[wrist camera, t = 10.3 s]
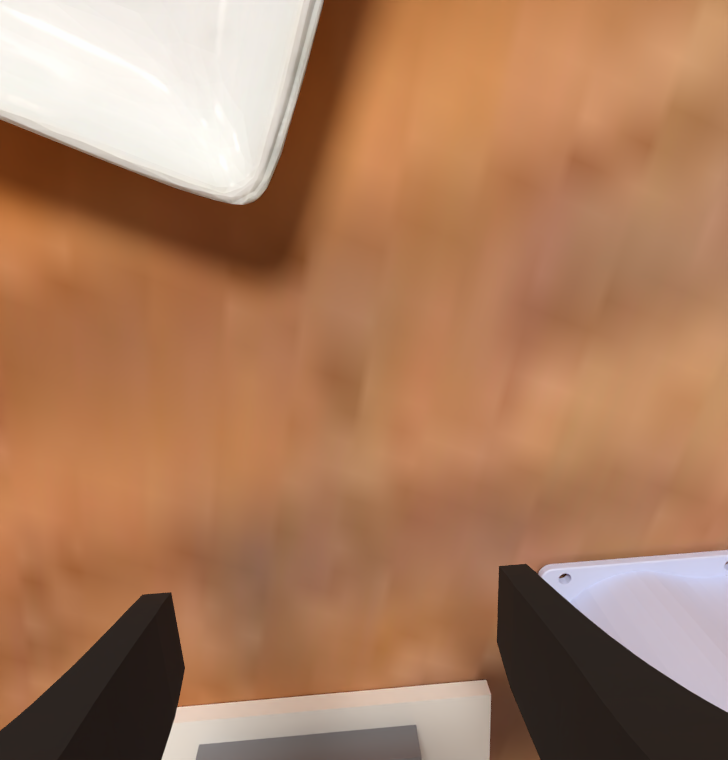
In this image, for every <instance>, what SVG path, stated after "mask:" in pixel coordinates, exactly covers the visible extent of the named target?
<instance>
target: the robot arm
mask: <svg viewBox="0 0 728 760" xmlns="http://www.w3.org/2000/svg"><path fill="white" fill-rule="evenodd" d="M726 562H728V550H722V551H709V552H697V553H684V554H672V555H660V556H647V557H635V558H622V559H610V560H597V561H585V562H572V563H560V564H549V565H546V566H544V567H542V568H541V570H540V571H539V573H538V574H537V573H536V572H535V571H534V570H533V569H531V568H530V567H529V566H528V565H527V564H520V565H508V566H499V589H498V624H497V643H498V647H499V650H500V654H501V657H502V661H503V664H504V668H505V671H506V674H507V678H508V681H509V684H510V688H511V690H512V692H513V695H514V697H515V700H516V702H517V705H518V707H519V709H520V712H521V714H522V717H523V719H524V721H525V724H526V726H527V729H528V731H529V733H530V736H531V738H532V740H533V743H534V745H535V747H536V750H537V752H538V754H539V757H540V759H541V760H728V563H727V564H725V563H726ZM565 573H566V574H567V575H566V576H565V577H563V578H559V577H560V576H561V575H562V574H565ZM184 670H185V666H184V661H183V655H182V650H181V644H180V639H179V633H178V628H177V622H176V617H175V611H174V606H173V600H172V595H171V593H158V594H146V595H142V596H141V597H140V598H139V599H138V600H137V601H136V602H135V603H134V604H133V605H132V606H131V607H130V608H129V609H128V610H127V611H126V612H125V613H124V614H123V615H122V616H121V617H120V619H119V620H118V621H117V622H116V623H115V624H114V625H113V626H112V627H111V628H110V629H109V630H108V631H107V632H106V633H105V634H104V635H103V636H102V637H101V638H100V639H99V640H98V641H97V642H96V643H95V644H94V645H93V646H92V647H91V648H90V649H89V650H88V651H87V652H86V653H85V654H84V655H83V656H82V657H81V658H80V659H79V660H78V661H77V662H76V663H75V664H74V665H73V666H72V667H71V668H70V669H69V670H68V671H67V672H66V673H65V674H64V675H63V676H62V677H61V678H60V679H58V680H57V681H56V682H55V683H54V684H53V685H52V686H51V687H50V688H49V689H48V690H47V691H46V692H44V693H43V694H42V695H41V696H40V697H39V698H38V699H37V700H36V701H35V702H34V703H33V704H32V705H30V706H29V707H28V708H27V709H26V710H25V711H23V712H22V713H21V714H20V715H19V716H18V717H16V718H15V719H14V720H13V721H12V722H11V723H9V724H8V725H7V726H6V727H4V728H3V729H2V730H1V731H0V760H161V759H162V756H163V753H164V750H165V747H166V744H167V741H168V738H169V735H170V732H171V728H172V725H173V722H174V719H175V715H176V710H177V705H178V701H179V696H180V691H181V686H182V680H183V675H184Z"/></svg>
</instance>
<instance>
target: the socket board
mask: <svg viewBox="0 0 728 760" xmlns="http://www.w3.org/2000/svg"><path fill="white" fill-rule="evenodd" d="M490 719H491V693H490V690H489V687H488V684H487V681H486V680H478V681H467V682H455V683H444V684H433V685H422V686H411V687H399V688H388V689H377V690H366V691H354V692H343V693H332V694H321V695H309V696H298V697H287V698H276V699H265V700H253V701H242V702H231V703H220V704H208V705H197V706H186V707H177V710H176V715H175V719H174V722H173V725H172V728H171V732H170V735H169V738H168V741H167V744H166V747H165V750H164V753H163V756H162V759H161V760H489V757H490Z"/></svg>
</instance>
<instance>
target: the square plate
mask: <svg viewBox="0 0 728 760" xmlns="http://www.w3.org/2000/svg"><path fill="white" fill-rule="evenodd" d="M323 3H324V0H0V120H3V121H5V122H8V123H10V124H13V125H15V126H18V127H20V128H23V129H26V130H28V131H31V132H33V133H36V134H38V135H41V136H43V137H46V138H48V139H51V140H53V141H56V142H58V143H61V144H63V145H66V146H68V147H71V148H73V149H76V150H78V151H81V152H83V153H86V154H88V155H91V156H93V157H96V158H99V159H101V160H104V161H106V162H109V163H111V164H114V165H116V166H119V167H121V168H124V169H127V170H129V171H132V172H135V173H137V174H140V175H142V176H145V177H148V178H150V179H153V180H156V181H158V182H161V183H163V184H166V185H169V186H171V187H174V188H177V189H180V190H183V191H186V192H189V193H193V194H196V195H199V196H202V197H206V198H209V199H212V200H216V201H220V202H225V203H229V204H239V205H245V204H248V203H252V202H254V201H255V200H257V199H258V198H260V197H261V195H262V194H263V193H264V191H265V190H266V189H267V187H268V185H269V183H270V180H271V178H272V175H273V173H274V171H275V168H276V166H277V163H278V161H279V158H280V156H281V153H282V150H283V146H284V143H285V140H286V136H287V133H288V130H289V126H290V123H291V119H292V116H293V113H294V109H295V106H296V103H297V99H298V96H299V93H300V89H301V86H302V82H303V79H304V76H305V72H306V68H307V64H308V61H309V57H310V53H311V49H312V45H313V41H314V37H315V34H316V30H317V26H318V22H319V18H320V14H321V10H322V7H323Z"/></svg>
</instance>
